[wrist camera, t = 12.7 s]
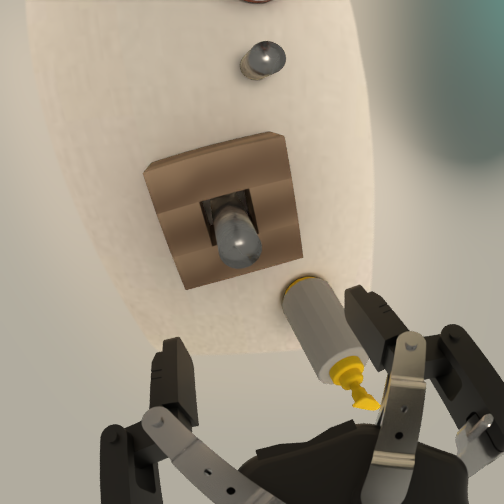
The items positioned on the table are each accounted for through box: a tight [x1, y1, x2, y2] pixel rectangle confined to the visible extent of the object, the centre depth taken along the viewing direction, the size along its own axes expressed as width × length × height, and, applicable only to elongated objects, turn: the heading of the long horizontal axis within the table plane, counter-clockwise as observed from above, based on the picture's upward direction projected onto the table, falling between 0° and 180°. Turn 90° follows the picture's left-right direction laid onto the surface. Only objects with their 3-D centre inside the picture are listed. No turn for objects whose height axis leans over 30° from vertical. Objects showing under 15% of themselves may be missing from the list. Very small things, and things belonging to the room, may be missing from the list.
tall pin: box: [210, 192, 262, 269], centre depth 24 cm, size 3×3×11 cm
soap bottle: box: [282, 277, 381, 410], centre depth 29 cm, size 7×7×18 cm
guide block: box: [143, 132, 303, 290], centre depth 27 cm, size 12×12×5 cm
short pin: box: [240, 41, 286, 80], centre depth 21 cm, size 3×3×5 cm
